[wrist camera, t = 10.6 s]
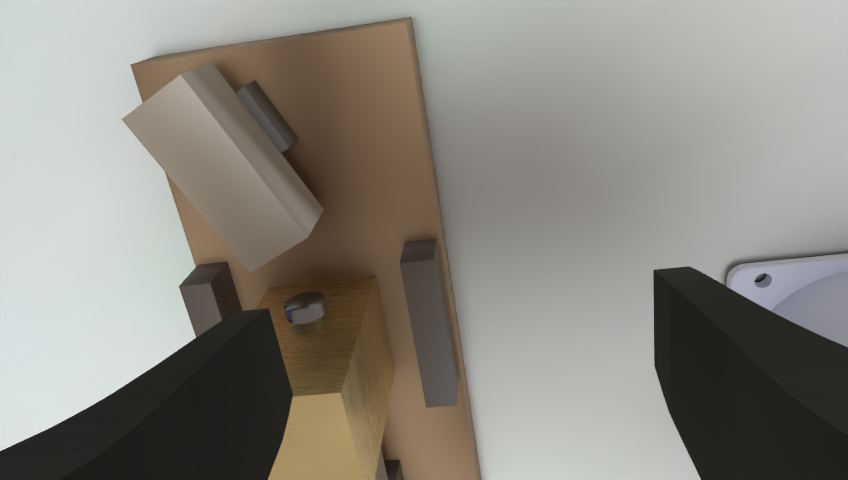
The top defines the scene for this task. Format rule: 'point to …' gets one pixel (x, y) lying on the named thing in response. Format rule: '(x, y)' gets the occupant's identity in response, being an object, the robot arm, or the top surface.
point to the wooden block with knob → (332, 377)
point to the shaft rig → (319, 204)
